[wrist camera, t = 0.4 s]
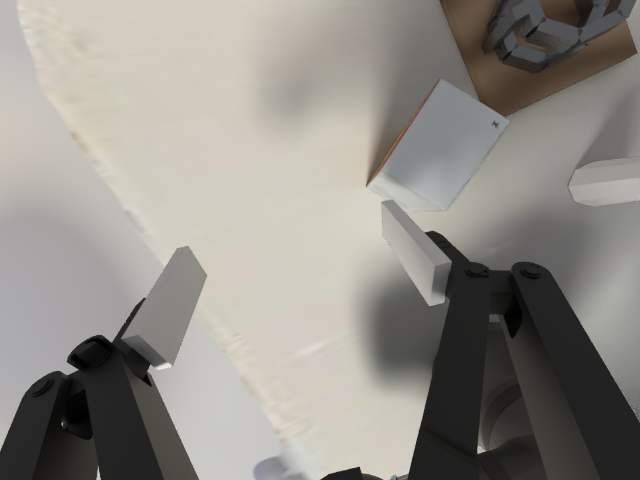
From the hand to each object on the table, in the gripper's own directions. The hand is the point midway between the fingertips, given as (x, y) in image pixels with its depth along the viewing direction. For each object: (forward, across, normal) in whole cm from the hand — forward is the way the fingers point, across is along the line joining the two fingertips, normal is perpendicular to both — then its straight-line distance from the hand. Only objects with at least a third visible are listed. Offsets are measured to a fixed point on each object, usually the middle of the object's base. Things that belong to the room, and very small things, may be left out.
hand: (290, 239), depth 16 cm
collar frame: (+20, -32, -9) cm, 39 cm away
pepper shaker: (+10, -36, +8) cm, 38 cm away
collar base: (+20, -32, -9) cm, 39 cm away
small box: (+15, -14, +4) cm, 21 cm away
